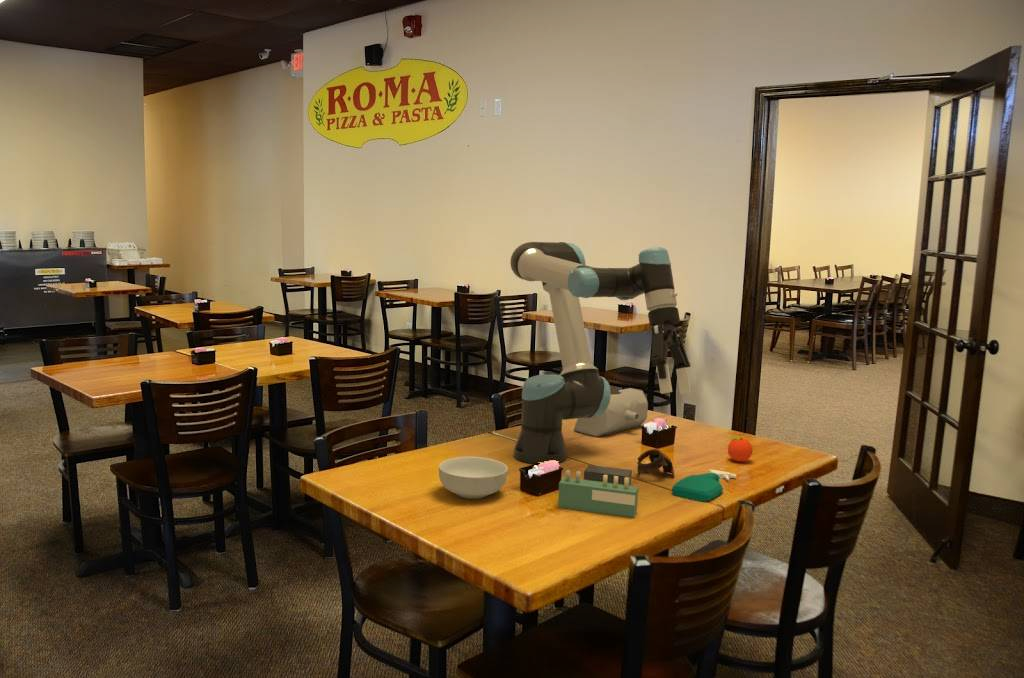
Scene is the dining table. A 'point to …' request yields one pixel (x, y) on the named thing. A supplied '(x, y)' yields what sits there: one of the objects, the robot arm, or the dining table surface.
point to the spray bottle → (701, 485)
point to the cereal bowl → (472, 476)
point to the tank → (617, 414)
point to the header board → (598, 496)
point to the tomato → (739, 449)
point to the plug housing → (598, 471)
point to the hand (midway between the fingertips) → (676, 393)
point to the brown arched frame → (655, 462)
